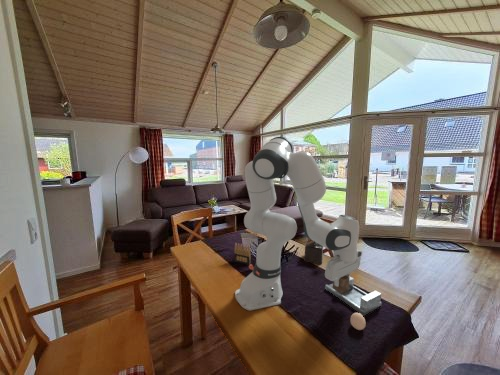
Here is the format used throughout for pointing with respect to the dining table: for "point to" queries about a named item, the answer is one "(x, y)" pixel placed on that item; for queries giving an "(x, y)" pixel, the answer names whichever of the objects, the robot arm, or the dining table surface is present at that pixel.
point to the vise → (358, 299)
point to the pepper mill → (313, 252)
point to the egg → (358, 321)
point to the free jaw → (350, 283)
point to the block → (342, 284)
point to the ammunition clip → (242, 254)
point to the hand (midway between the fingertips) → (341, 283)
